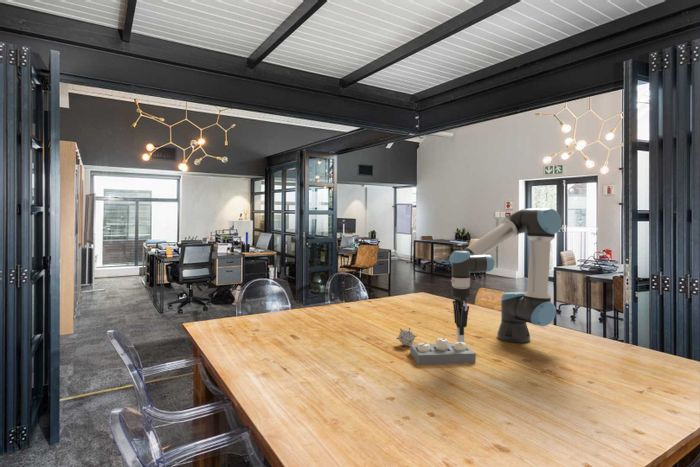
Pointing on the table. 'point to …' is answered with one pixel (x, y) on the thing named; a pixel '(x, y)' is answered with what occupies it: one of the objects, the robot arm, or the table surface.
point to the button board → (442, 355)
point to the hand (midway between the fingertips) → (460, 341)
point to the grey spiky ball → (406, 337)
